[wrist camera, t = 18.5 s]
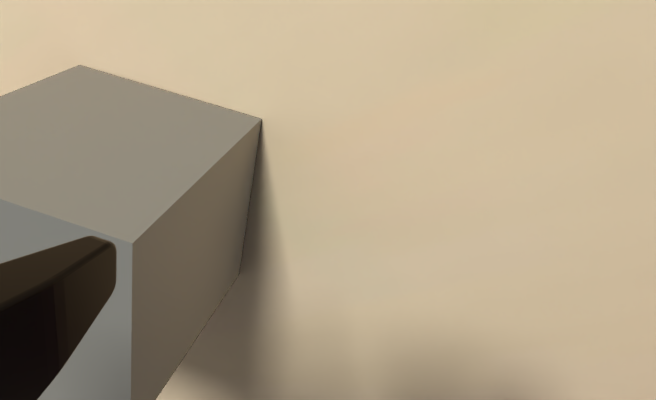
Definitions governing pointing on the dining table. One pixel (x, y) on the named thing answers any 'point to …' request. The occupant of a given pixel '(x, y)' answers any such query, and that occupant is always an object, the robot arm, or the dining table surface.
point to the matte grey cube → (129, 214)
